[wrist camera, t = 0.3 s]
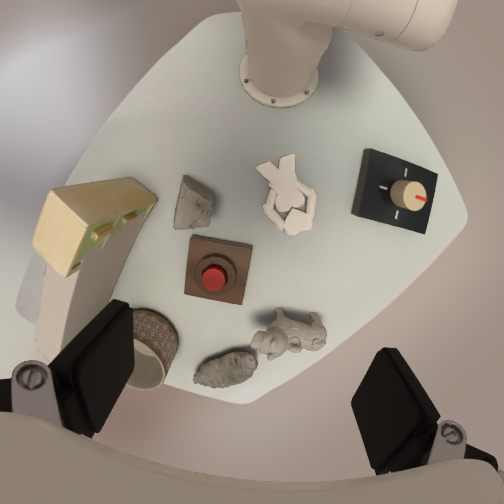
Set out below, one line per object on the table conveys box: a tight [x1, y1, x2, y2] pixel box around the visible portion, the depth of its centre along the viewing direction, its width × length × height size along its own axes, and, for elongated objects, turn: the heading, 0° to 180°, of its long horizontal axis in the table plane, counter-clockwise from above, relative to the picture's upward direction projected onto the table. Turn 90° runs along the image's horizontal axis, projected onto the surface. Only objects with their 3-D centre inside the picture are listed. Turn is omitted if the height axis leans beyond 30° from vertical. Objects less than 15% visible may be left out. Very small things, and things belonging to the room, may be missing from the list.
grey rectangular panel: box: [35, 212, 146, 363], centre depth 38 cm, size 29×8×18 cm, turn 147°
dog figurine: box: [251, 308, 327, 360], centre depth 44 cm, size 5×13×11 cm, turn 83°
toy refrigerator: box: [32, 177, 158, 278], centre depth 33 cm, size 8×7×21 cm
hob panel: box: [351, 149, 438, 234], centre depth 40 cm, size 14×11×3 cm
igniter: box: [184, 235, 253, 305], centre depth 44 cm, size 10×10×4 cm
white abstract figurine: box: [256, 154, 317, 236], centre depth 42 cm, size 9×12×2 cm
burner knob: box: [390, 180, 427, 211], centre depth 37 cm, size 4×4×5 cm
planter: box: [125, 310, 178, 391], centre depth 46 cm, size 13×13×10 cm
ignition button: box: [202, 265, 226, 291], centre depth 42 cm, size 4×4×2 cm
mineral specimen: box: [174, 175, 213, 230], centre depth 40 cm, size 7×9×8 cm
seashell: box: [193, 351, 258, 388], centre depth 49 cm, size 6×14×8 cm, turn 118°
